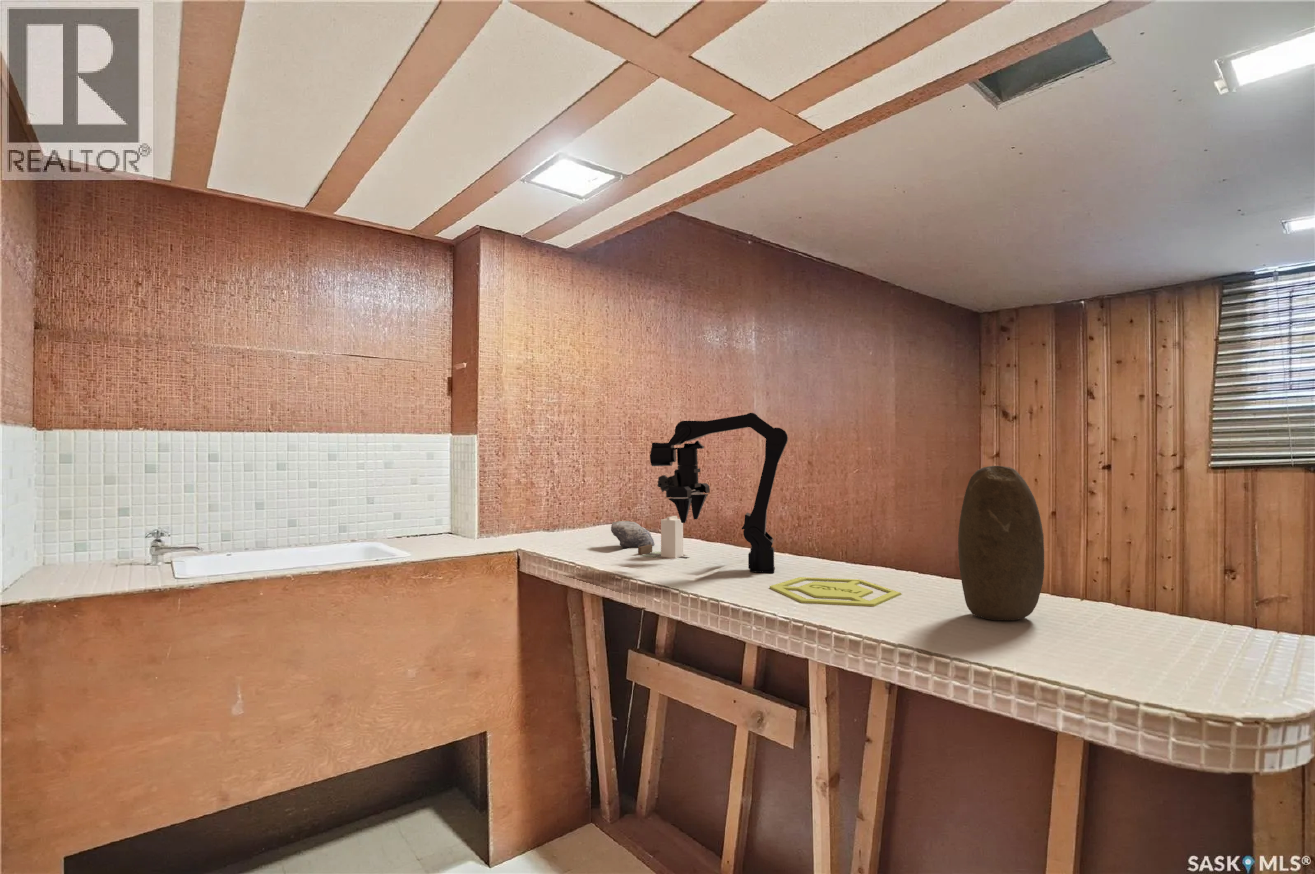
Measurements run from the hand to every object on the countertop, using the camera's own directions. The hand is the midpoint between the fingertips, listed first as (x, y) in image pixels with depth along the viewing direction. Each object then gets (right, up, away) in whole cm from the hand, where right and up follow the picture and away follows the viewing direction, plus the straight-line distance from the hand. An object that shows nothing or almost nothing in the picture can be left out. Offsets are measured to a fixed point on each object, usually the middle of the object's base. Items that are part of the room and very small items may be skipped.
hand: (689, 520), depth 177 cm
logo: (+33, -13, -29) cm, 46 cm away
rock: (-17, -14, +35) cm, 41 cm away
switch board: (-7, -13, +12) cm, 19 cm away
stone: (+59, -12, -53) cm, 80 cm away
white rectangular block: (-5, -12, +11) cm, 17 cm away
